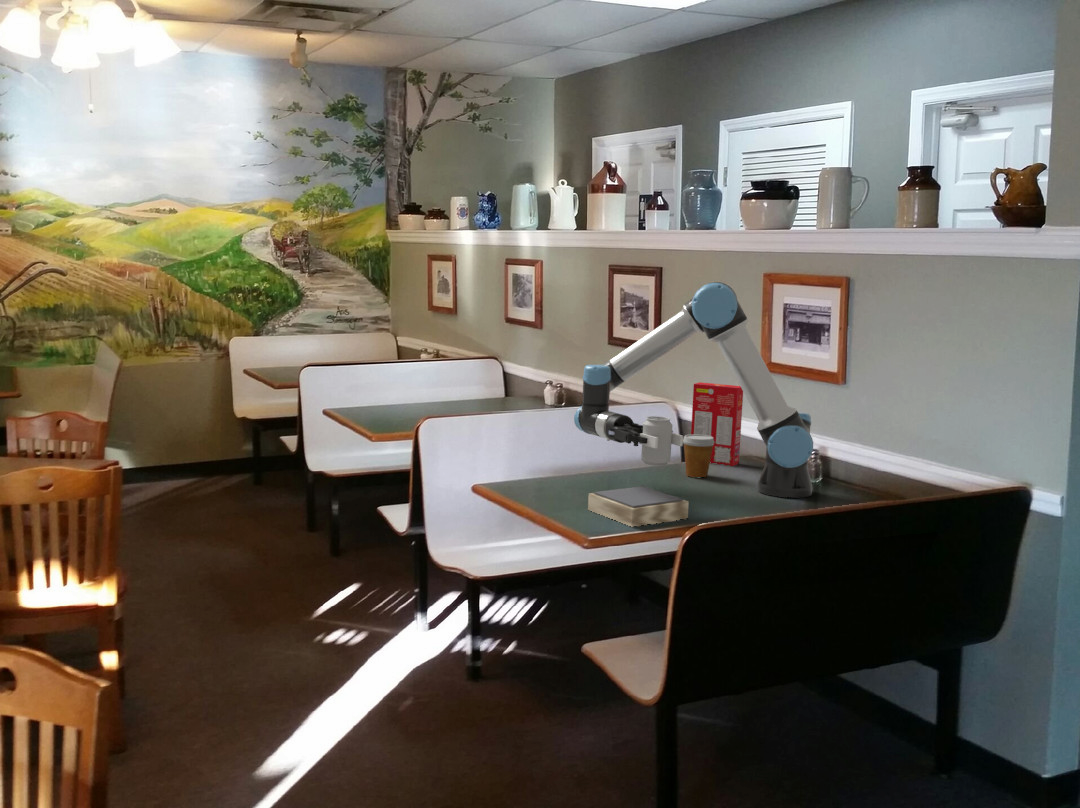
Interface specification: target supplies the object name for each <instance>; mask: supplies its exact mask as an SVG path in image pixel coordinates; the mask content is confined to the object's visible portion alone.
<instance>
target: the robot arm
mask: <svg viewBox="0 0 1080 808" xmlns="http://www.w3.org/2000/svg"><path fill="white" fill-rule="evenodd" d="M748 321H749V319H748V317H747V315H746V314H745V312H744V310H743V308H742V306H741V304H740V302H739V300H738V297H737V294H736V293H735V290H734V289H733V288H732V287H731V286H729V285H728V284H726V283H723V282H720V281H719V282H718V281H714V282H709V283H706V284H704V285H703V286H701V287H700V288H699V289H698V290H696V292H695V294H694V295H693V297H692V298H691V299H690V300H689V301H687V302H685V303H684V304H683V306H682V309H681V310H680V311H679V312H677V313H676V314H674V315H673V316H672V317H670V318H668V319H667V320H666V321H664V322H662V323H661V324H660V325H658V326H657V327H656V328H654V329H653V330H651V331H650V332H648V333H647V334H646V335H643V337H641V338H640V339H639V340H637V341H635V342H634V343H632V345H630V346H628V347H627V348H625V349H623V350H622V351H621V352H620V353H618V354H617V355H616V356H614V357H613V358H610V360H609V361H607V362H605V363H603V364H587V365H584V366H585V367H584V369H583V376H582V382H583V383H582V404H581V406H580V407H578V408H577V410H576V411H575V414H574V417H573V423H574V425H575V427H576V428H577V429H578V430H579V431H581V432H582V433H583V432H584V433H586V434H588V435H592V436H596V437H600V438H602V439H603V438H604V439H606V441H607V442H610V441H613V442H616V443H619V444H622V443H627V444H629V445H630V444H632V443H633V446H634V447H639V445H641V446H642V445H645V446H648V447H652V448H658V438H657V437H654V436H650V435H647V434H643V424H642V425H641V424H639V423H636V422H635V423H634V421H633V419H632V418H631V416H628V415H626V414H621V413H619V412H614V411H610V410H609V408H610V395H611V392H612V391H613V390H614V389H616V388H617V387H619V386H620V385H622V384H623V383H625V382H626V381H627V380H628V379H631V378H632V377H633V376H635V375H637V373H639V372H640V371H641V372H642V370H644V369H646V367H648V366H649V365H652V363H654V362H655V361H657V360H658V359H660V358H661V357H663V356H664V355H666V354H668V352H670V351H671V350H673V349H675V348H676V347H678V346H679V345H681V344H682V343H684V342H685V341H686V340H688V339H689V338H691V337H692V336H694V335H695V334H697V333H705V335H706V337H707V338H708V341H710V342H714V343H716V344H717V346H718V347H719V350H720V352H721V353H722V355H723V356H724V358H725V360H726V362H727V364H728V366H729V368H730V370H731V372H732V373H733V375H734V378H735V379H736V380H737V382H738V385H739V386H741V388H742V390H743V395H745V397H746V399H747V400H748V403H749V405H750V407H751V408H752V411H753V412H754V413H755V416H756V418H757V419H758V423H757V424H758V425H757V427H756V430H757V432H758V433H759V436H760V437H761V439H762V441H763V443H764V444H765V447H766V448H765V449H766V451H765V464H764V467H763V470H762V471H761V473H760V477H759V479H758V482H757V488H756V489H757V491H758V492H759V493H761V494H764V495H768V496H771V495H772V496H771V497H777V496H778V498H787V497H789V499H790V497H791V498H793V499H799V498H807V497H810V496H812V494H813V484H812V481H811V475H810V471H809V467H808V465H809V464H808V462H809V461H808V460H809V459H810V457H811V455H812V453H813V451H814V440H813V437H812V436H811V435H812V434H811V427H812V420H811V415H810V414H809V413H805V412H804V413H803V412H799V411H798V410H797V408H794V407H791V406H789V405H788V404H787V401H786V400H785V397H784V396H783V394H782V392H781V390H780V388H779V387H778V385H777V383H776V381H775V379H774V378H773V375H772V374H771V372H770V370H769V368H768V366H767V364H766V363H765V361H764V359H763V357H762V355H761V354H760V352H759V350H758V348H757V346H756V345H755V342H754V340H753V339H752V337H751V335H750V333H749V331H748V329H747V323H748ZM683 439H684V435H681V434H678V433H674V431H673V430H672V442H671V445H675V446H678V447H683V446H684V443H683Z"/></svg>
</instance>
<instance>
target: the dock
mask: <svg viewBox="0 0 1080 808" xmlns="http://www.w3.org/2000/svg"><path fill="white" fill-rule="evenodd" d="M587 500H588V501H587V502H588V503H587V511H588V510H590V511H592V512H591V513H593V512H595V513H597V514H596V515H598V514H600V515H599V516H601V515H603V516H605V517H604V518H606V517H608V518H610V519H609V520H611V519H613V520H612V521H614V520H616V521H618V522H617V523H619V522H621V523H623V524H622V525H624V524H626V525H625V526H627V525H628V527H629V526H631V527H630V528H634V527H633V526H637V527H642V526H641V525H644V526H648V525H647V524H651V525H656V523H657V524H662V522H664V523H669V522H677V521H681V520H680V519H684V520H687V519H686V518H688V519H689V503H690V502H689V500H685V499H683V498H681V497H679V496H675V495H672V494H669V493H666V492H663V491H659V490H656V489H653V488H650V487H647V486H644V485H640V486H634V487H633V486H632V487H625V488H624V487H623V488H617V489H609V490H602V491H595V492H591V493H590V492H589V493H588V498H587ZM590 511H589V512H590ZM595 513H594V514H595ZM603 516H602V517H603ZM608 518H607V519H608ZM676 520H677V521H676ZM616 521H615V522H616ZM621 523H620V524H621Z"/></svg>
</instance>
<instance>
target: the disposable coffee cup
mask: <svg viewBox="0 0 1080 808" xmlns="http://www.w3.org/2000/svg"><path fill="white" fill-rule="evenodd" d="M714 443H715V442H714V439H713V437H712V436H708V435H699V434H691V433H690V434H685V435H683V450H684V463H685V464H684V465H685V476H686V475H687V476H686V477H688V476H690V477H689V478H691V477H706V476H707V477H708V474H709V467H710V464H711V463H710V458H711V453H712V447H713V445H714ZM707 477H706V478H707Z"/></svg>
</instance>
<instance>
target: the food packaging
mask: <svg viewBox="0 0 1080 808" xmlns="http://www.w3.org/2000/svg"><path fill="white" fill-rule="evenodd" d="M743 398H744V392H743V390H742V388H741V386H740V385H735V384H734V385H731V384H723V383H710V382H701V381H700V382H699V381H698V382H696V383H693V392H692V406H691V407H692V408H691V409H692V410H691V425H690V427H691V428H690V430H691V431H690V434H699V435H708V436H712V437H713V439H714V442H715V443H714V445H713V447H712V453H711V458H710V462H711V463H710V464H712V463H717V464H716V465H720V464H724V465H723V466H727V465H730V466H729V467H735V466H737V465H738V463H740V448H741V435H742V434H741V432H742V416H743V401H744V399H743Z"/></svg>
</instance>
